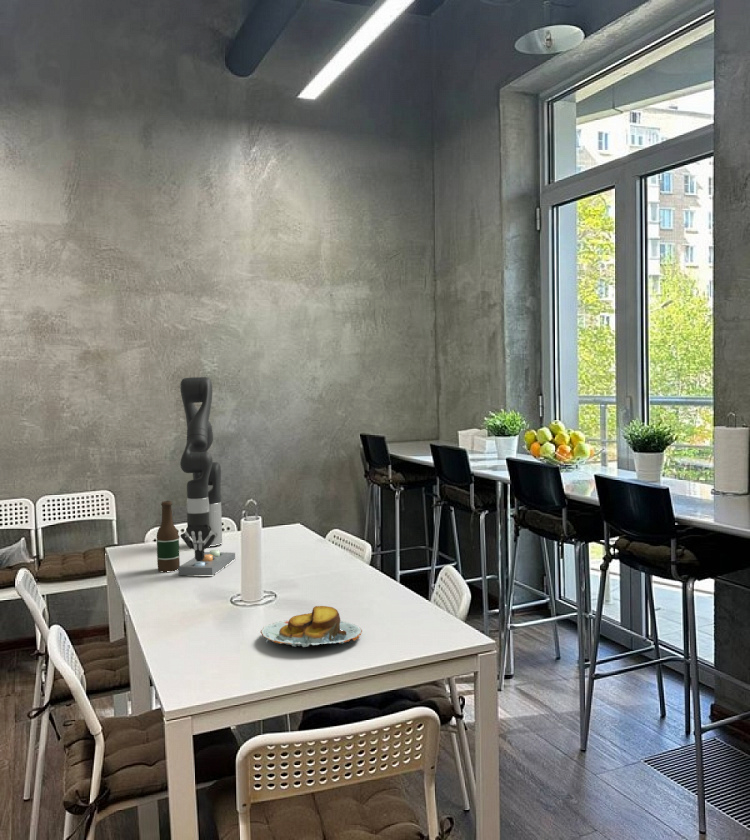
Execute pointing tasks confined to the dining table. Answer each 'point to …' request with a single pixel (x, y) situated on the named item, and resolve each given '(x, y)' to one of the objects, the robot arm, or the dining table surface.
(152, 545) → the dining table surface
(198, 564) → the blue button
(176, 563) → the beer bottle
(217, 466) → the robot arm
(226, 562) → the button panel
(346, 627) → the food on plate
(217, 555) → the sage button
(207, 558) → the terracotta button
